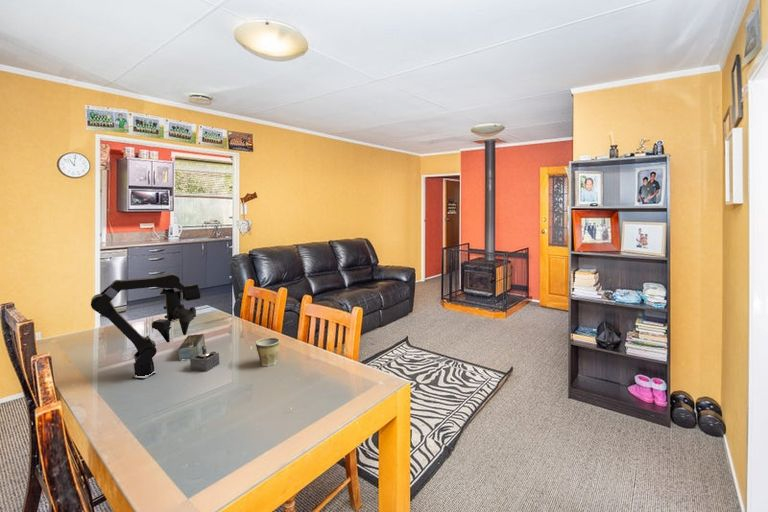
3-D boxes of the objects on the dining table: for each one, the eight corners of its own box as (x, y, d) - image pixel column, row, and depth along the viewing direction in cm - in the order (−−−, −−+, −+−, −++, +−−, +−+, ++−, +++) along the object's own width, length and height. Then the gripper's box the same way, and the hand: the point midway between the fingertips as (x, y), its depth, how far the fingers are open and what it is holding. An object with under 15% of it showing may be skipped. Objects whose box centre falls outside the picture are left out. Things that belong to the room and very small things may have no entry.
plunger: (206, 368, 164) (204, 349, 163) (196, 367, 165) (194, 348, 164) (214, 363, 169) (212, 344, 168) (204, 362, 170) (203, 344, 169)
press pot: (206, 371, 162) (205, 360, 162) (191, 369, 164) (190, 358, 164) (222, 362, 172) (221, 351, 171) (207, 360, 174) (206, 350, 173)
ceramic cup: (273, 368, 164) (272, 346, 162) (252, 367, 166) (251, 344, 164) (287, 357, 176) (286, 335, 175) (267, 355, 178) (266, 334, 177)
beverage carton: (177, 361, 174) (176, 347, 173) (188, 347, 193) (187, 334, 192) (197, 359, 176) (195, 345, 175) (205, 345, 195) (204, 332, 194)
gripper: (171, 309, 152) (175, 347, 154) (204, 298, 170) (207, 332, 172) (148, 308, 155) (152, 345, 157) (183, 297, 173) (186, 331, 175)
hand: (176, 338), depth 165 cm, fingers open, 9 cm apart
